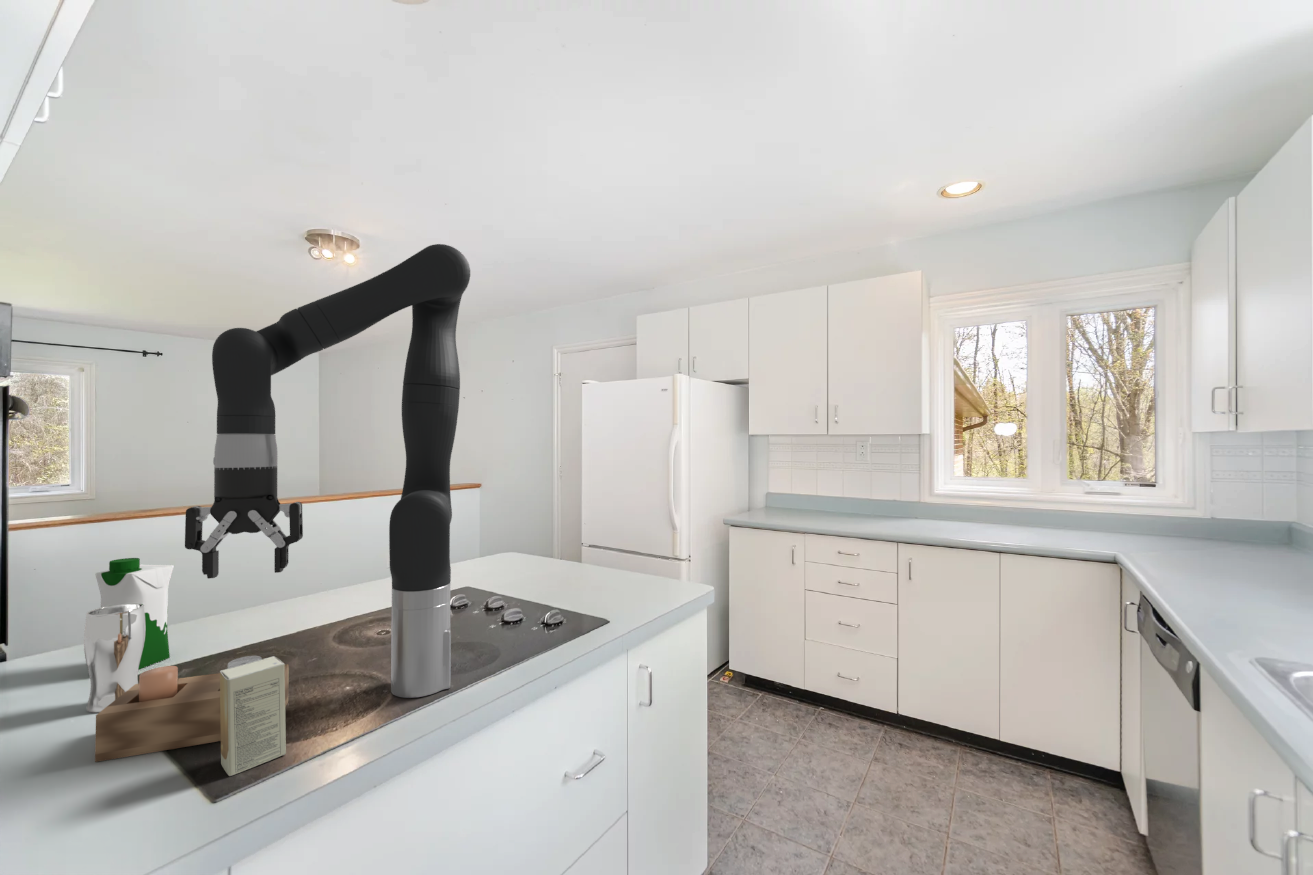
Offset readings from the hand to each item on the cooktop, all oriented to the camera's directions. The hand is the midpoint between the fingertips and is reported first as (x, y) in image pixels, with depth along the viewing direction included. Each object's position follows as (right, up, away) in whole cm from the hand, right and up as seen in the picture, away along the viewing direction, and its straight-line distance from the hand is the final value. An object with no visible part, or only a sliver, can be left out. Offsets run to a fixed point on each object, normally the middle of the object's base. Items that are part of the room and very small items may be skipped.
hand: (246, 574), depth 80 cm
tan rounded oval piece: (-9, -17, -4) cm, 20 cm away
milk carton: (-37, -22, +21) cm, 48 cm away
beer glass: (-25, -22, +5) cm, 34 cm away
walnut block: (-5, -22, -2) cm, 22 cm away
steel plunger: (0, -17, 0) cm, 17 cm away
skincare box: (+9, -22, -10) cm, 26 cm away
